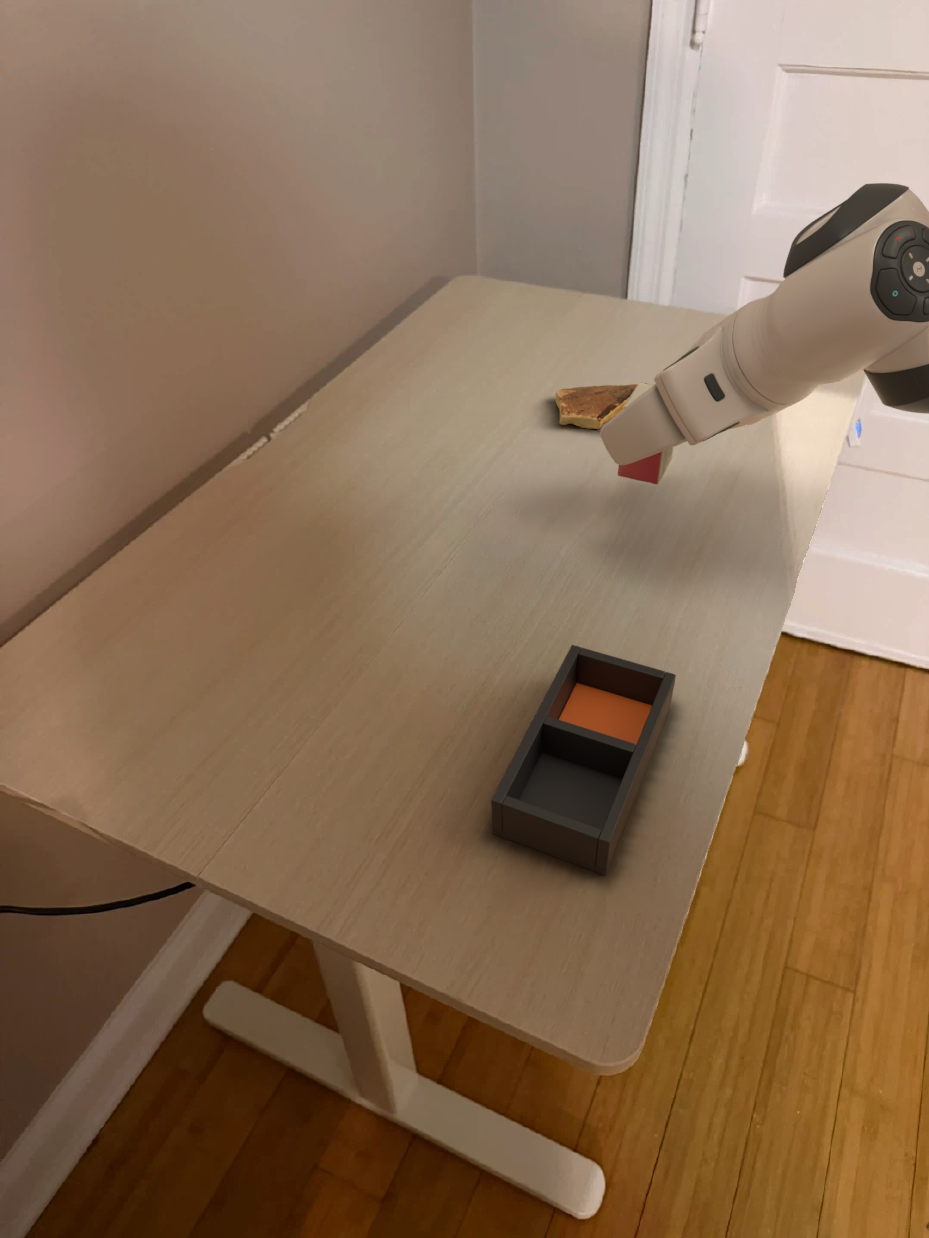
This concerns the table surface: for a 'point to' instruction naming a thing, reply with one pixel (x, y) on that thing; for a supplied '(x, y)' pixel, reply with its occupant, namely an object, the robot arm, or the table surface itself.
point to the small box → (652, 465)
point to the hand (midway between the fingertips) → (643, 427)
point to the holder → (583, 758)
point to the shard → (592, 404)
